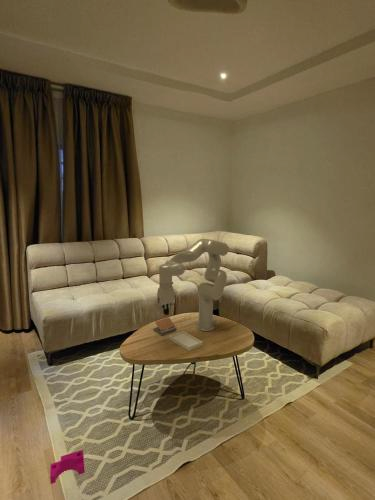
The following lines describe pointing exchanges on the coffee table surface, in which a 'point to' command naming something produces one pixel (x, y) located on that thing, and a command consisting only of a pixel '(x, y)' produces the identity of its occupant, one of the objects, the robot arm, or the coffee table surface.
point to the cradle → (185, 340)
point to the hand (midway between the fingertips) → (166, 314)
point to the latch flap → (165, 324)
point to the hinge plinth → (164, 331)
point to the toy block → (67, 465)
